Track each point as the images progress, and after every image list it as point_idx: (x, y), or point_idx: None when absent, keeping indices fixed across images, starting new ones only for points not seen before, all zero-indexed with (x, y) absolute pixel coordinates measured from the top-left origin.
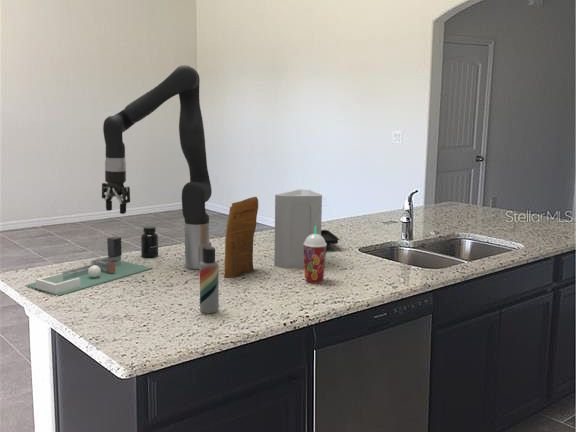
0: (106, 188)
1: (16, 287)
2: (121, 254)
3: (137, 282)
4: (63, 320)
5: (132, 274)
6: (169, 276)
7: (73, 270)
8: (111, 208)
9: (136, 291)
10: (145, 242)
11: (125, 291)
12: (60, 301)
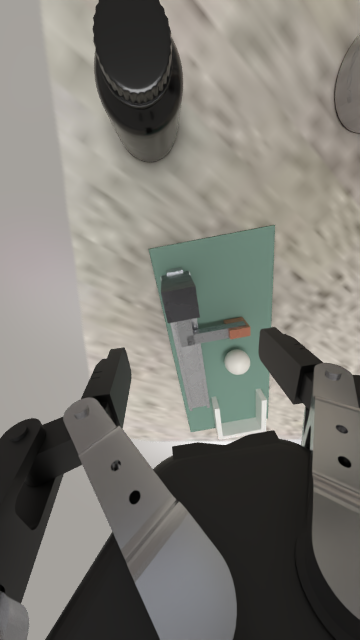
0: (23, 616)
1: (187, 438)
2: (188, 271)
3: (318, 310)
4: None
5: (271, 290)
6: (353, 232)
7: (185, 375)
8: (123, 354)
9: (352, 336)
10: (161, 139)
11: (335, 349)
12: (286, 420)
